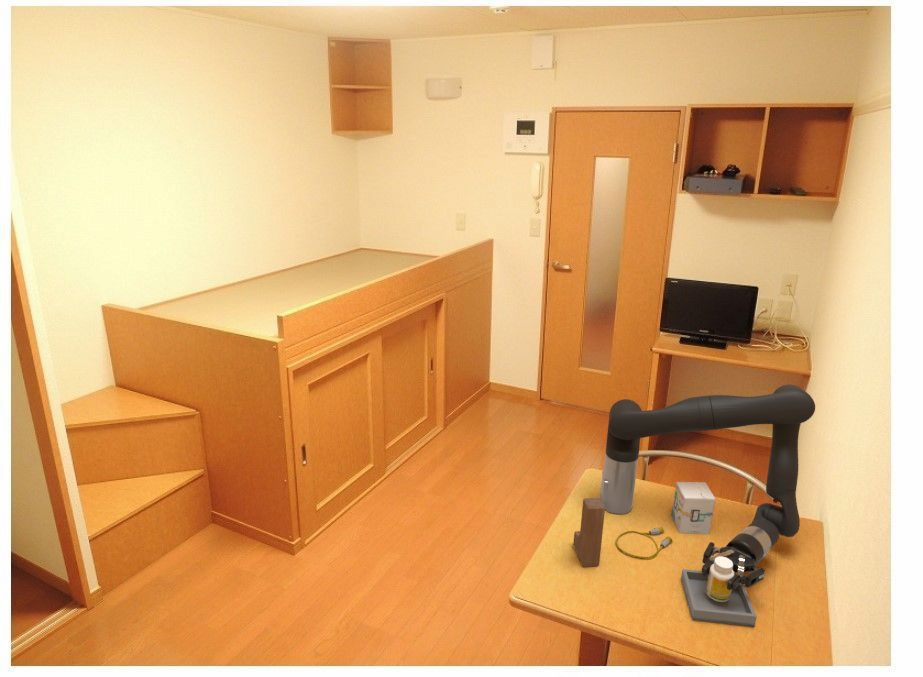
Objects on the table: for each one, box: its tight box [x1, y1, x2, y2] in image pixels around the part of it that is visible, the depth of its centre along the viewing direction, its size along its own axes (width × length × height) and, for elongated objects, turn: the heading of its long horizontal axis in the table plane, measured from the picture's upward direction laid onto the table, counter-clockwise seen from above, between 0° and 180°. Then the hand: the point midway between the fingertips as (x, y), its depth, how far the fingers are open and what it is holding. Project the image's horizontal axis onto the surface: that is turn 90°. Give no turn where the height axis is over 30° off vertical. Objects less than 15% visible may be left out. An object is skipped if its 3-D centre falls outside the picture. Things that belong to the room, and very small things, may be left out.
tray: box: [680, 568, 758, 628], centre depth 146 cm, size 14×14×3 cm
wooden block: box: [573, 497, 606, 568], centre depth 159 cm, size 9×4×18 cm, turn 6°
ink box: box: [671, 480, 716, 535], centre depth 173 cm, size 8×8×12 cm
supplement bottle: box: [706, 556, 735, 602], centre depth 144 cm, size 5×5×10 cm
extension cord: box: [615, 526, 673, 561], centre depth 166 cm, size 12×16×2 cm
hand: (716, 579), depth 142 cm, fingers closed on supplement bottle, 5 cm apart
